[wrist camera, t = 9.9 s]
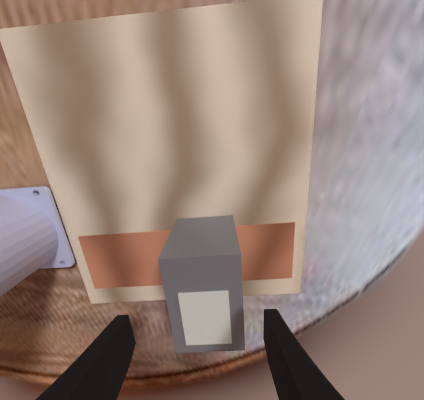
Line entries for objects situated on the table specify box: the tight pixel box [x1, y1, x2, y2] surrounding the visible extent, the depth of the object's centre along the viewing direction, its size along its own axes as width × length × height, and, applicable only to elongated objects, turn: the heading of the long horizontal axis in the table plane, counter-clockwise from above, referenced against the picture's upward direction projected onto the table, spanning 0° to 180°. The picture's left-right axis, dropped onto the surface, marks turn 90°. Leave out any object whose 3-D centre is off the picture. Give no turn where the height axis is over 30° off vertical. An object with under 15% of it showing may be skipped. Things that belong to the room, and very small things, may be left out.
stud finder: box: [158, 215, 245, 353], centre depth 16 cm, size 5×8×6 cm, turn 5°
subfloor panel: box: [0, 0, 323, 304], centre depth 17 cm, size 22×24×1 cm
